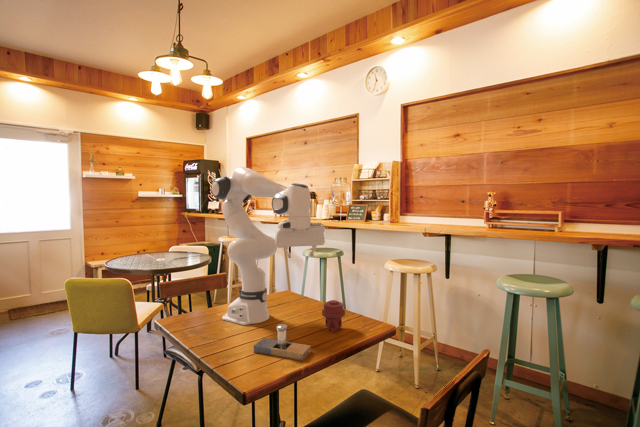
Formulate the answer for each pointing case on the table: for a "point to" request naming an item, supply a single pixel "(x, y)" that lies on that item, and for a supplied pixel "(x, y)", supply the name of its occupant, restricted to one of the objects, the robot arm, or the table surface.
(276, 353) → the two-tone slotted plate
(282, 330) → the metal peg
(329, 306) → the mechanical component
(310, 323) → the table surface
